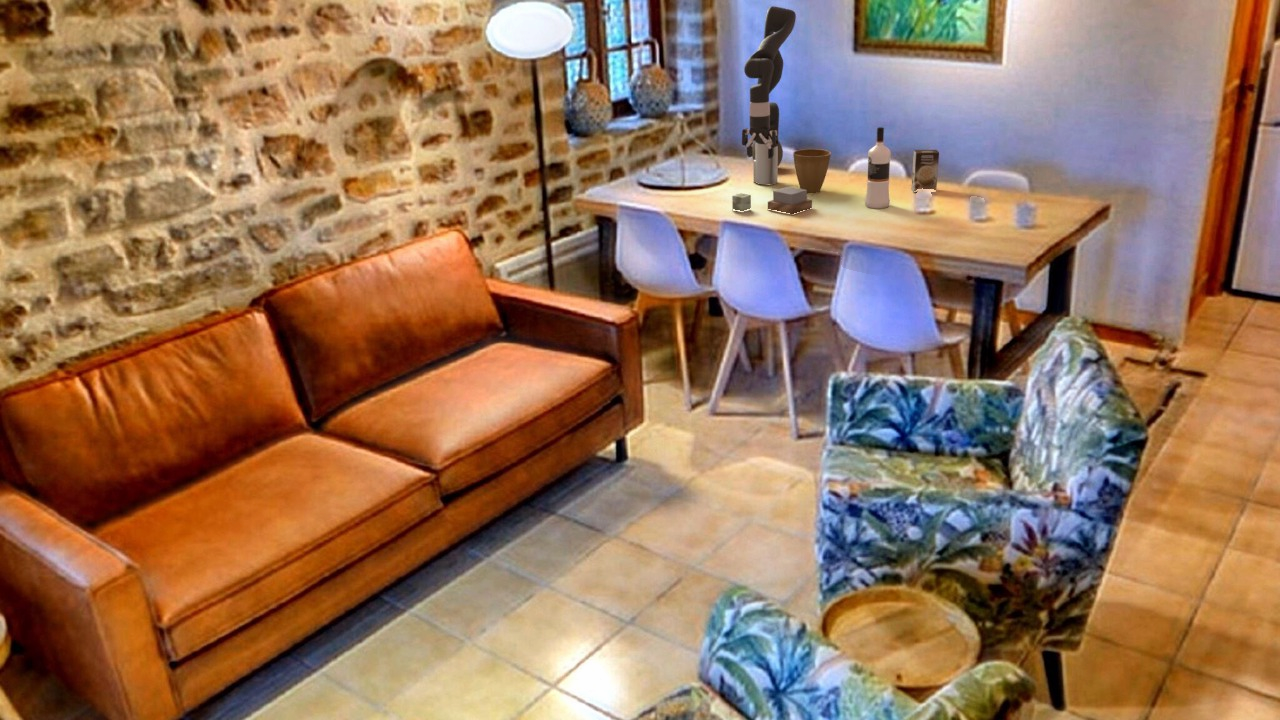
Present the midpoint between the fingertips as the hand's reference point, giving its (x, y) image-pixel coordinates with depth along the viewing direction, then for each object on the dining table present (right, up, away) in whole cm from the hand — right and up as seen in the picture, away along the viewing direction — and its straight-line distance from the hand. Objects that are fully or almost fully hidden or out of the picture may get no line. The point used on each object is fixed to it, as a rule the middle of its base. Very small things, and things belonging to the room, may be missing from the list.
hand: (760, 157), depth 402 cm
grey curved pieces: (+11, +7, +70) cm, 71 cm away
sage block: (-6, -19, +9) cm, 22 cm away
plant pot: (+24, -8, +31) cm, 40 cm away
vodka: (+45, -18, +6) cm, 49 cm away
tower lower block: (+12, -19, +7) cm, 24 cm away
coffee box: (+68, -9, +24) cm, 73 cm away
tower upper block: (+12, -15, +6) cm, 20 cm away
